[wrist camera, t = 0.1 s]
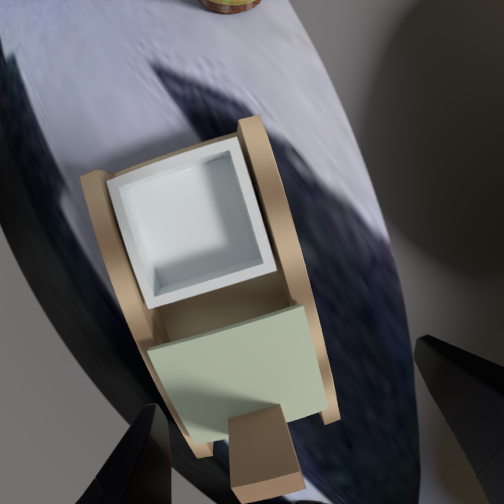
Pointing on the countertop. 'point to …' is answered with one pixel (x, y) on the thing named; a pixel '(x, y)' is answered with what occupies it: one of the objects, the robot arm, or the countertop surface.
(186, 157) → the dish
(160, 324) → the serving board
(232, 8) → the sauce bottle
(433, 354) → the robot arm
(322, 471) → the countertop surface
